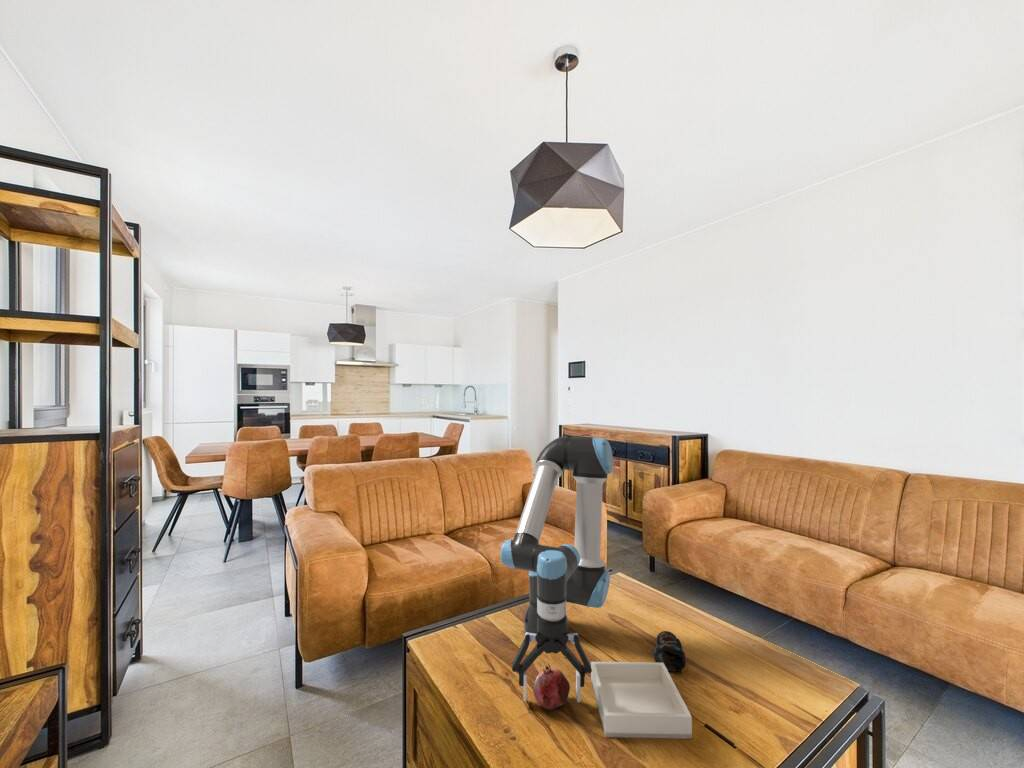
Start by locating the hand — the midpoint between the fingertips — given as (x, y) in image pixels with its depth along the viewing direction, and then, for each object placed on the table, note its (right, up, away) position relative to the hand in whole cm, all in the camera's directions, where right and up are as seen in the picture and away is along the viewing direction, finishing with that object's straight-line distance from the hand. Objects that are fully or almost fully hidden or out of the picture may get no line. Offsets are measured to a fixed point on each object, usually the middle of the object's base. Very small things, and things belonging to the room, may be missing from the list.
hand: (551, 698), depth 112 cm
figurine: (+37, -2, +18) cm, 41 cm away
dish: (+22, -2, -1) cm, 22 cm away
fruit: (0, -2, 0) cm, 2 cm away
